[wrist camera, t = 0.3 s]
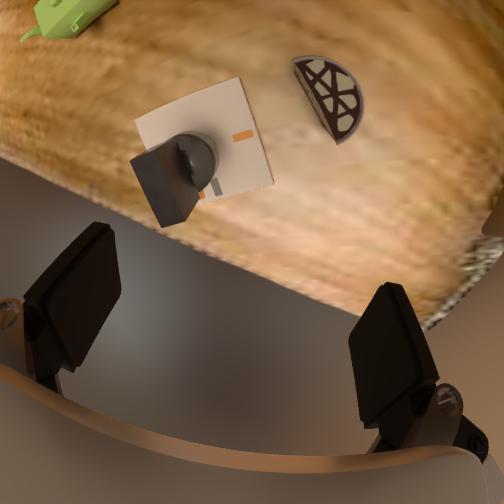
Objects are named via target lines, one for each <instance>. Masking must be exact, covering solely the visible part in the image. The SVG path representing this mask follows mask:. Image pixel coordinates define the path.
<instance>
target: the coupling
mask: <svg viewBox="0 0 504 504" xmlns="http://www.w3.org/2000/svg"><path fill="white" fill-rule="evenodd" d="M130 163H131V165H132V167H133V170H134V172H135V174H136V176H137V178H138V181H139V183H140V185H141V187H142V189H143V191H144V193H145V196H146V198H147V200H148V202H149V204H150V206H151V208H152V210H153V212H154V214H155V216H156V218H157V220H158V222H159V224H160V226H161V228H164V227H167V226H171V225H174V224H178V223H181V222H185V221H186V220H187V218H188V217H189V215H190V213H191V212H192V210H193V208H194V207H195V205H196V204H197V202H198V200H201V199H204V198H205V193H204V191H203V189H204V188H205V187H206V186H207V185H208V184H209V182H210V181H211V179H212V178H213V176H214V175H215V173H216V171H217V169H218V166H219V153H218V149H217V147H216V145H215V144H214V142H213V141H212V140H211V139H210V138H209V137H208V136H206V135H204V134H203V133H200V132H197V131H184V132H181V133H179V134H177V135H175V136H173V137H171V138H169V139H168V140H166V141H165V142H162V143H160V144H158V145H155V146H153V147H151V148H150V149H148V150H146V151H145V152H143V153H141V154H140V155H138V156H137V157H135V158H133V159H132V160H130Z"/></svg>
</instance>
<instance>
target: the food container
mask: <svg viewBox="0 0 504 504" xmlns="http://www.w3.org/2000/svg"><path fill="white" fill-rule="evenodd" d="M292 61H294V74H295V76H296V78H297V80H298V81H299V83H300V85H301V87H302V88H303V90H304V92H305V94H306V96H307V97H308V99H309V101H310V103H311V105H312V107H313V109H314V111H315V113H316V115H317V117H318V119H319V121H320V123H321V125H322V126H323V127H324V129H325V130H326V131H327V132H328V133H329V134H330V136H331V137H332V138H333V139H334V140H335V142H336V145H339V144H341V143H343V142H344V141H346V140H347V139H348V138H350V137H351V136H352V135H353V134H354V133H355V131H356V130H357V128H358V127H359V125H360V123H361V121H362V117H363V114H364V97H363V93H362V90H361V87H360V85H359V83H358V82H357V80H356V78H355V77H354V76H353V75H352V73H351V72H350V71H348V70H347V69H346V68H345V67H344V66H342V65H341V64H339V63H338V62H335V61H333V60H331V59H328V58H325V57H321V56H301V57H297V58H294V59H292Z"/></svg>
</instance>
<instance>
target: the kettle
mask: <svg viewBox="0 0 504 504" xmlns="http://www.w3.org/2000/svg"><path fill="white" fill-rule="evenodd" d="M116 2H117V0H40V1H39V2H38V3H37V5H36V6H35V7H34V10H35V14H36V17H37V20H38V23H39V26H38V27H35V28H33V29H32V30H30V31H28V32H27V33H26V34H25V35H24V36H23V37H22V39H21V41H20V43H22V42H24V41H25V40H26V39H28V38H29V37H32V36H35V35H41V34H42V35H43V38H70V39H73V38H74V37H75V36H77V35H78V34H79V33H80V32H81V31H82V30H84V29H86V28H87V27H88V25H89V24H90V23H91V22H92V21H94V20H95V19H96V18H97V17H98V16H100V15H101V14H102V13H103V12H105V11H107V10H109V9H110V8H111V6H112V5H114V4H115V3H116Z"/></svg>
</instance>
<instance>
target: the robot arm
mask: <svg viewBox="0 0 504 504" xmlns="http://www.w3.org/2000/svg"><path fill="white" fill-rule="evenodd" d="M120 294H121V282H120V275H119V268H118V261H117V253H116V244H115V234H114V231H113V230H112V229H111V228H110V225H109V224H105V223H100V222H93V223H92V224H91V225H90V226H89V227H87V228H86V229H85V230H84V231H83V232H82V233H81V234H80V235H79V236H78V237H77V238H76V239H75V240H74V241H73V242H72V243H71V244H70V245H69V246H68V247H67V248H66V249H65V250H64V251H63V252H62V253H61V254H60V255H59V256H58V257H57V258H56V259H55V261H54V262H53V263H52V264H51V265H50V266H49V267H48V268H47V269H46V270H45V271H44V273H43V274H42V275H41V276H40V277H39V278H38V279H37V281H36V282H35V283H34V284H33V285H32V286H31V288H30V289H29V290H28V291H27V292H26V294H25V295H24V296H23V297H24V299H25V302H24V303H23V304H22V303H21V302H20V301H19V300H18V299H15V298H6V299H3V300H1V301H0V504H500V502H501V501H502V499H503V497H504V476H503V474H502V473H501V471H500V469H499V467H498V466H497V464H496V463H495V461H494V459H493V457H492V456H491V454H490V453H489V454H488V450H489V449H488V448H489V445H488V439H487V437H486V436H485V434H484V433H483V432H482V431H481V430H480V429H478V428H477V427H476V426H475V425H474V424H473V423H472V422H471V421H469V420H468V419H467V418H466V417H465V416H464V415H462V413H463V400H462V397H461V395H460V393H459V392H458V390H457V389H456V388H455V387H454V386H452V385H450V384H447V383H443V384H440V385H438V386H437V387H436V384H435V382H436V381H437V380H439V379H440V378H439V375H438V372H437V369H436V366H435V363H434V360H433V358H432V355H431V352H430V349H429V347H428V344H427V342H426V339H425V337H424V334H423V331H422V329H421V327H420V324H419V322H418V319H417V317H416V315H415V312H414V310H413V308H412V306H411V303H410V301H409V299H408V297H407V295H406V293H405V290H404V288H403V287H402V285H400V284H396V283H391V282H386V283H385V284H384V285H381V286H380V287H379V288H378V290H377V291H376V293H375V295H374V297H373V298H372V300H371V302H370V303H369V305H368V307H367V308H366V310H365V311H364V313H363V315H362V316H361V318H360V320H359V321H358V323H357V324H356V326H355V327H354V329H353V330H352V332H351V333H350V336H349V340H348V343H349V348H350V354H351V360H352V366H353V372H354V379H355V385H356V392H357V399H358V407H359V415H360V420H361V421H362V422H364V429H373V428H379V434H378V436H377V437H376V439H375V440H374V442H373V443H372V445H371V446H370V448H369V449H368V451H367V452H366V454H357V455H343V456H288V455H272V454H260V453H250V452H243V451H235V450H229V449H222V448H216V447H211V446H205V445H201V444H196V443H192V442H187V441H183V440H179V439H175V438H171V437H168V436H164V435H161V434H157V433H154V432H150V431H147V430H144V429H141V428H138V427H134V426H131V425H129V424H126V423H123V422H121V421H118V420H115V419H113V418H110V417H108V416H105V415H103V414H100V413H98V412H96V411H93V410H91V409H88V408H86V407H84V406H82V405H80V404H78V403H75V402H74V401H71V400H69V399H67V398H65V397H64V395H63V391H62V387H61V383H60V379H59V374H58V372H59V370H60V368H61V367H62V368H64V369H66V370H68V371H70V372H72V373H74V371H75V369H76V367H79V366H81V364H82V363H83V361H84V359H85V357H86V355H87V353H88V351H89V349H90V348H91V346H92V344H93V342H94V340H95V338H96V336H97V335H98V333H99V331H100V329H101V327H102V326H103V324H104V322H105V320H106V319H107V317H108V315H109V314H110V312H111V310H112V309H113V307H114V305H115V304H116V302H117V300H118V299H119V297H120Z"/></svg>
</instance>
